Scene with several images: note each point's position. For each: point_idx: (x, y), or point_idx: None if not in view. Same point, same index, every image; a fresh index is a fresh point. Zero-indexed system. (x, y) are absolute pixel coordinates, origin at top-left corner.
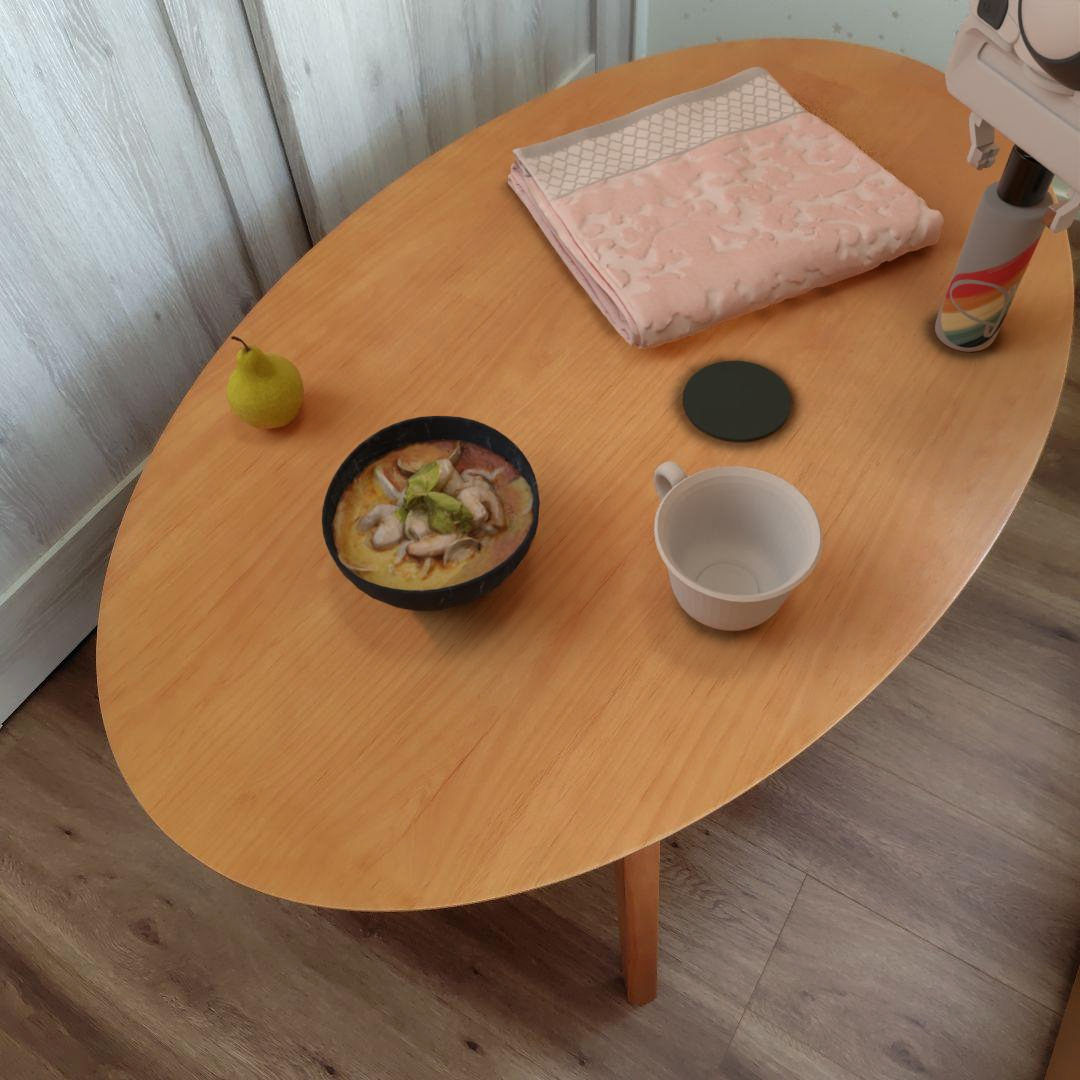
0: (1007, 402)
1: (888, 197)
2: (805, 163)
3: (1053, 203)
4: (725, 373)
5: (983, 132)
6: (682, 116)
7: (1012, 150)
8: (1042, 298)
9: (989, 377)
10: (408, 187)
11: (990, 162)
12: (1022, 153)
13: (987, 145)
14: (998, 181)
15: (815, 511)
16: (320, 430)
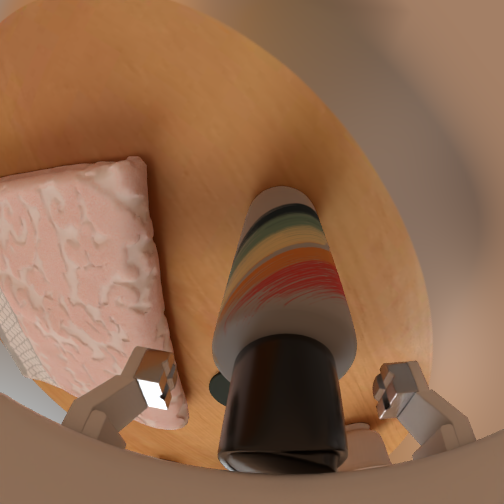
0: (378, 249)
1: (78, 214)
2: (23, 246)
3: (344, 322)
4: (221, 387)
5: (122, 412)
6: None
7: None
8: (284, 98)
9: (346, 241)
10: (37, 383)
11: (171, 365)
12: None
13: (144, 391)
14: (217, 357)
15: (379, 466)
16: (181, 461)
